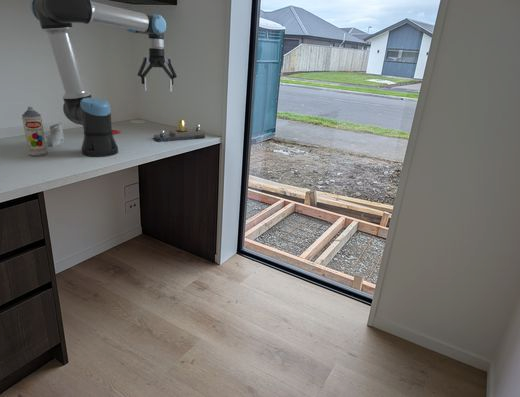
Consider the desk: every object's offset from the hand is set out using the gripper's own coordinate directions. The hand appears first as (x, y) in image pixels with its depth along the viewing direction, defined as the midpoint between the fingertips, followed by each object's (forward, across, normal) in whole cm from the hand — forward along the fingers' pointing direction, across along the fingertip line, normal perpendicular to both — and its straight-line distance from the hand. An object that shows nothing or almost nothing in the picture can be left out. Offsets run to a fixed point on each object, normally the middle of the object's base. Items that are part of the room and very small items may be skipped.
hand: (158, 91), depth 193 cm
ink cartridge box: (+26, +51, +3) cm, 57 cm away
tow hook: (+25, +22, -17) cm, 37 cm away
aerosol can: (+26, +60, +20) cm, 68 cm away
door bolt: (+24, -10, +8) cm, 27 cm away
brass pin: (+24, -10, +8) cm, 28 cm away
